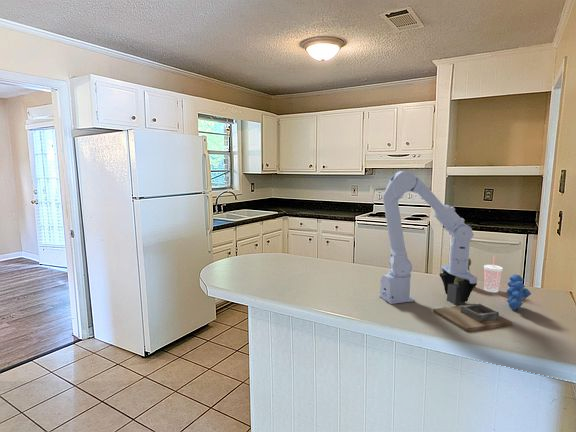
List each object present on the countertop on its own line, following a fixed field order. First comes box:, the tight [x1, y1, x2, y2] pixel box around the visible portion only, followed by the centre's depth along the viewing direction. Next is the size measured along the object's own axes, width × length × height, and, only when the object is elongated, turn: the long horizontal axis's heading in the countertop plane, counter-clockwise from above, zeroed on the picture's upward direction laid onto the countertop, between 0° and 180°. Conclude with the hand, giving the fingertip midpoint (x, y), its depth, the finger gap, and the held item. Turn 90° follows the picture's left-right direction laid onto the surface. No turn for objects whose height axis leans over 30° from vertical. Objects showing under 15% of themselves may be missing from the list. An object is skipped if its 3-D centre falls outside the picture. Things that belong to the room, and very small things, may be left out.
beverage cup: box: [483, 253, 504, 293], centre depth 131 cm, size 6×6×14 cm
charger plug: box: [446, 282, 466, 306], centre depth 120 cm, size 4×4×7 cm
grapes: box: [505, 273, 532, 311], centre depth 113 cm, size 12×7×12 cm, turn 157°
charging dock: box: [432, 303, 513, 333], centre depth 108 cm, size 16×14×3 cm
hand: (456, 297), depth 120 cm, fingers open, 7 cm apart
